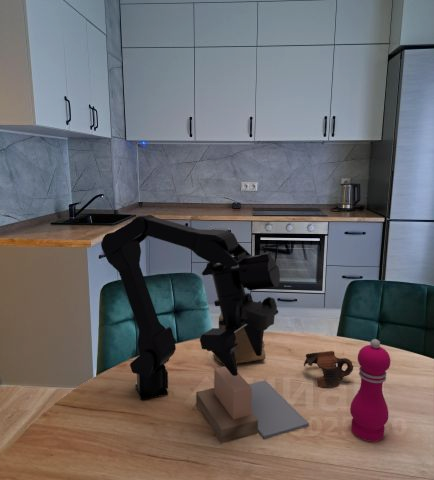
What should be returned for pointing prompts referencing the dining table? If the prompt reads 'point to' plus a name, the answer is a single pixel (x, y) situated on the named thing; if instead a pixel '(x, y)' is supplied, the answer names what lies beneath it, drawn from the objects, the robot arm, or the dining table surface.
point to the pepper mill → (370, 393)
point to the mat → (273, 411)
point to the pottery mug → (329, 367)
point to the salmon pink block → (232, 392)
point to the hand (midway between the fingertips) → (247, 365)
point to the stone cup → (243, 347)
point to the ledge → (224, 418)
